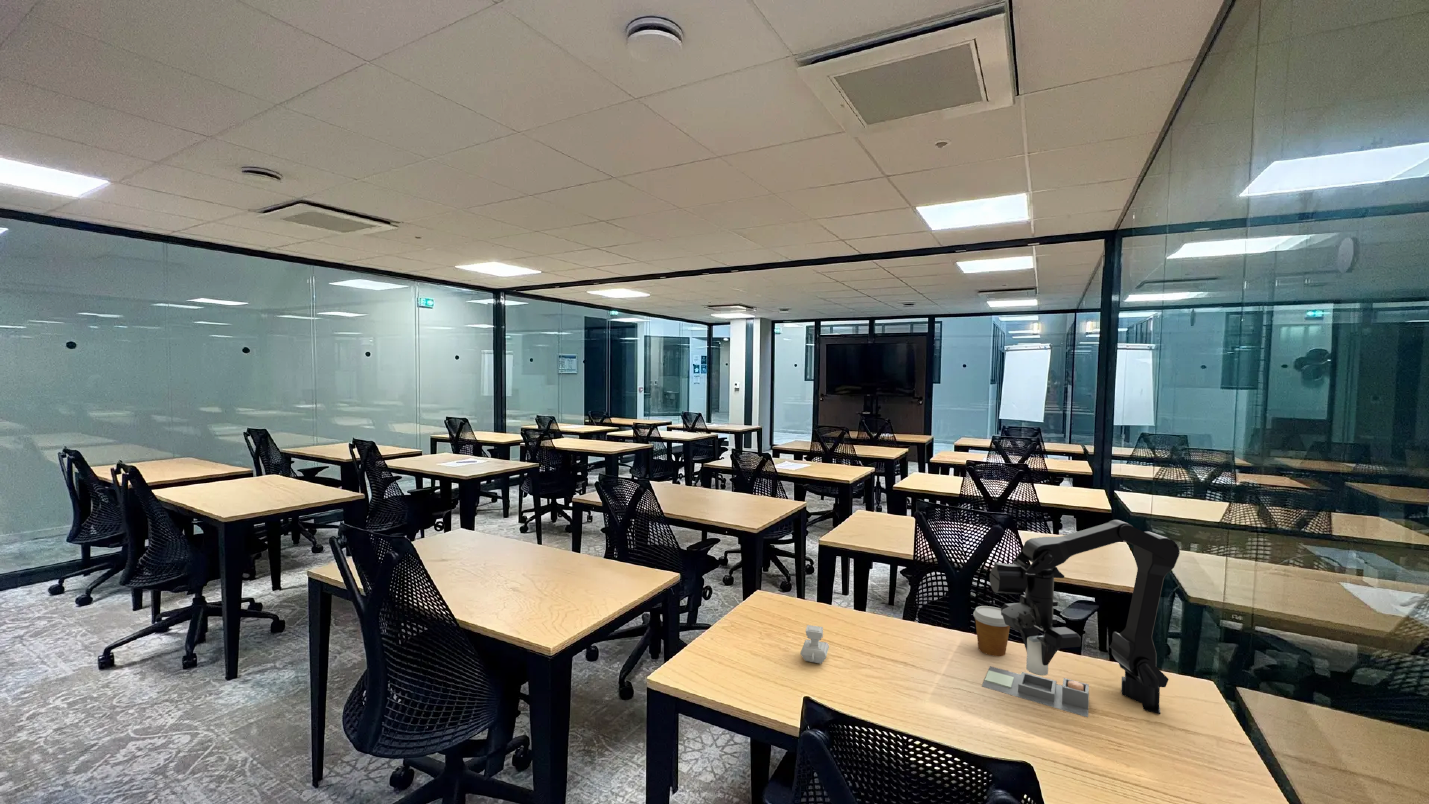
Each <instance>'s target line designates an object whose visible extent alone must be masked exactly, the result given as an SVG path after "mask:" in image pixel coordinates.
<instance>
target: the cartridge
mask: <svg viewBox="0 0 1429 804" xmlns="http://www.w3.org/2000/svg"><path fill="white" fill-rule="evenodd" d="M1037 637H1044V635H1038V636H1029V637H1028V638H1027V651H1026V667H1025V668H1026V670H1027V671H1028V672H1029V673H1030V674H1032V675H1036V676H1041V677H1043V676H1047V675H1048V674H1049V664H1048V665H1043V663H1042V649H1041V642H1040V641H1039V640H1038V639H1037Z"/></svg>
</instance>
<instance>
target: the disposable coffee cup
mask: <svg viewBox="0 0 1429 804" xmlns="http://www.w3.org/2000/svg"><path fill="white" fill-rule="evenodd" d="M972 615H973V617H974V621H975V629H976V630H975V631H976V638H977V646H978V650H979V651H980V653H981V652H982V653H983V654H985V655H989V656H993V657H1003V656H1005V655H1006V654H1007V653H1006V652H1007V646H1008V641H1009V636H1010V635H1009V634H1010V629H1011V627H1010V626H1009V625H1006V624H1005V622H1004V619H1003V616H1002V615H1001V608H1000V607H995V606H990V605H989V606H988V605H981V606H980V605H979V606H976V607H975V610H974V611H973V614H972Z"/></svg>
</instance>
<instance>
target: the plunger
mask: <svg viewBox="0 0 1429 804" xmlns="http://www.w3.org/2000/svg"><path fill="white" fill-rule="evenodd" d="M1076 681H1077V680H1074V681H1068V687H1069V688H1073V689H1077V690H1080V691H1083V690H1084V686H1083V684H1081V683H1082V682H1081V683H1079V682H1080V681H1078V682H1076Z"/></svg>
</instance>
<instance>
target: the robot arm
mask: <svg viewBox="0 0 1429 804" xmlns="http://www.w3.org/2000/svg"><path fill="white" fill-rule="evenodd" d="M1123 541H1124V542H1126V543H1128V544H1129V545H1131V546H1133V558H1134V561H1135V564H1136V576H1135V580H1134V587H1133V591H1132V596H1131V600H1130V601H1131V602H1130V606H1129V611H1128V616H1127V621H1126V624H1125V628H1124V629H1123V630H1122V631H1120V633H1119V632H1117V631H1113V632H1112V641H1111V643H1110V644H1109V646H1108V647H1109V648H1110V649H1111V655H1112V656H1113V657H1112V658H1114V660H1115V661H1116V662H1118V665H1119V668H1120V669H1122V670H1124V676H1121V687H1120V688H1121V689H1120V690H1121V692H1120V693H1121V695H1122V696H1124V697H1126V698H1129V699H1131V700H1133V701H1135V702H1137V703H1140V704H1142V710H1143V711H1146V712H1150V713H1154V714H1158V715H1160V714H1161V708H1160V698H1161V697H1160V695H1161V691H1160V689H1161V688H1166V686H1167V685H1168V682H1169V681H1170V680H1169V679H1170V678H1169V677H1167V676H1166V674H1164V673H1163V672H1162V671H1161V670H1160V669H1159V667H1157V651H1156V647H1155V644H1154V640H1153V633H1154V627H1155V623H1156V618H1157V613H1158V609H1159V604H1160V599H1161V595H1162V589H1163V585H1164V580H1165V577H1166V576H1167V575H1168V574H1169V573H1170V572H1171V571H1172V570H1173V569H1174V568H1175V566H1176V563H1177V562H1178V559H1179V557H1180V553H1181V552H1180V551H1181V549H1180V547H1179V546H1178V544H1177V543H1176V542H1175V541H1174V540H1173V539H1171V538H1169V537H1166V536H1163V535H1160V534H1157V533H1155V532H1151V531H1143V530H1141V529H1138V528H1136V527H1134V526H1133V525H1132V524H1130V523H1128V522H1125V521H1122V520H1120V519H1113V520H1109V521H1108V522H1105V523H1103V524H1099V525H1095V526H1092V527H1088V528H1086V529H1083V530H1082V529H1081V530H1079V531H1075V532H1072V533H1068V534H1066V535H1062V536H1042V537H1040V536H1039V537H1033V538H1032V537H1031V538H1030V539H1027V540H1026V541H1025V542H1024V545H1023V547H1022V549H1021V551H1020V552H1019V553H1018V554H1017V555H1016V556H1015V558H1014V559H1012V561H1011V562H1012V563H1002V562H994V564H993V567H992V568H991V571H990V573H989V583H990V587H991V590H992V592H993V593H997V594H1013V595H1014V594H1016V595H1017V594H1018V595H1020V597H1019V602H1014V603H1004V604H1003V605H1002V606H1001V608H1000V609H1001V615H1002V616H1003V619H1004V622H1005V624H1006V625H1009V626H1010V628H1012V629H1013V630H1015V631H1019V633H1020V635H1021V639H1022V642H1023V645H1024V648H1025V651H1026V652H1027V638H1028V637H1029V636H1039V632H1040V631H1042V632H1044V634H1043V636H1044V637H1037V639H1038V640H1039V641H1040V642H1041V649H1042V663H1043V665H1048V666H1049V664H1050V662H1051V660H1053V658H1054V656H1056V655H1055V654H1056V653H1057V652H1058V650H1060V649H1065V648H1068V649H1069V648H1080V647H1081V642H1082V640H1081V638H1082V636H1080V635H1079V633H1077V632H1075V631H1074V630H1072V629H1070V628H1068V627H1066V626H1061V627H1059V626H1058V627H1054V626H1053V625H1054V624H1055V625H1057V624H1058V619H1057V618H1056V617H1054V607H1058V606H1059V605H1058V604H1059V601H1058V600H1055V599H1054V597H1055V596H1054V592H1055V591H1054V589H1055V588H1054V587H1055V579H1056V578H1057V579H1065V575H1064V574H1063V573H1062V572H1061V571H1060V570H1059V569H1058V566H1060V565H1062V564H1064V563H1066V561H1068V560H1069V558H1070V557H1074V556H1075V555H1079V554H1082V553H1085V552H1089V551H1093V550H1095V549H1099V548H1103V547H1107V546H1109V545H1110V546H1111V545H1112V544H1117V543H1121V542H1123ZM1028 562H1030V563H1031V564H1030V563H1028ZM1023 593H1025V594H1023ZM1021 594H1022V595H1021Z"/></svg>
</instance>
